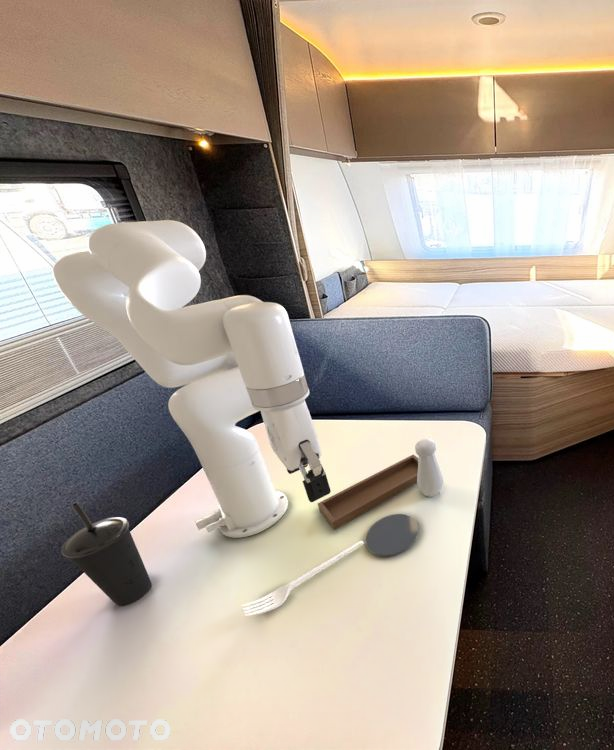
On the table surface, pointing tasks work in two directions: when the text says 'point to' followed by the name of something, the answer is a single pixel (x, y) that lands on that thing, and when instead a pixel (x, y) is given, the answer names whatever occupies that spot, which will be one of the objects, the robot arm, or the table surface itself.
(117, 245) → the robot arm
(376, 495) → the cutlery tray
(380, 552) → the coaster
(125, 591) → the drinking cup
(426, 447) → the salt shaker
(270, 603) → the fork
